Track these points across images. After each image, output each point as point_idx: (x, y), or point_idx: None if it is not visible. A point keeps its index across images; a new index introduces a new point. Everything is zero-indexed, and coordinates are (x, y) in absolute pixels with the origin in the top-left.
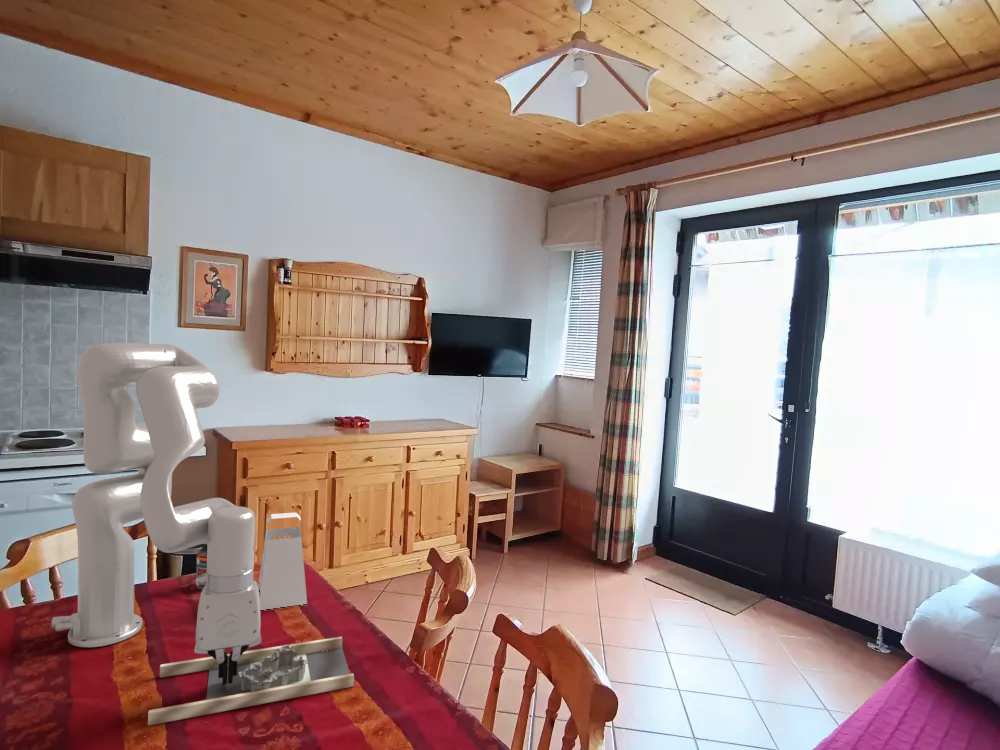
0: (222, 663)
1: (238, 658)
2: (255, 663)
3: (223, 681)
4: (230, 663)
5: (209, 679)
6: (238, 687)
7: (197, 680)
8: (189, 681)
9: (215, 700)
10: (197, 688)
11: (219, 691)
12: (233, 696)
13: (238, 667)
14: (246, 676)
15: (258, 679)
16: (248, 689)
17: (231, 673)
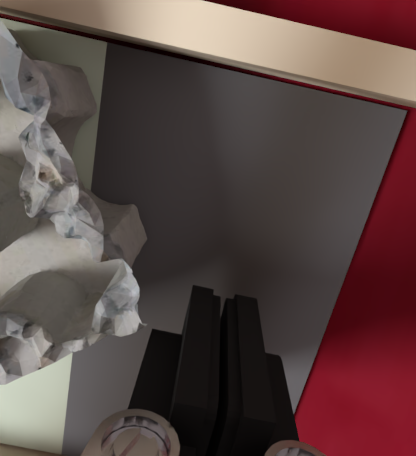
0: (265, 442)
1: (105, 422)
2: (2, 379)
3: (252, 306)
4: (198, 400)
5: None
6: (157, 263)
7: (340, 437)
8: (377, 447)
9: (386, 55)
10: (362, 372)
11: (268, 279)
12: (234, 35)
13: None
14: (83, 218)
15: (12, 213)
16: (103, 200)
17: (195, 325)
